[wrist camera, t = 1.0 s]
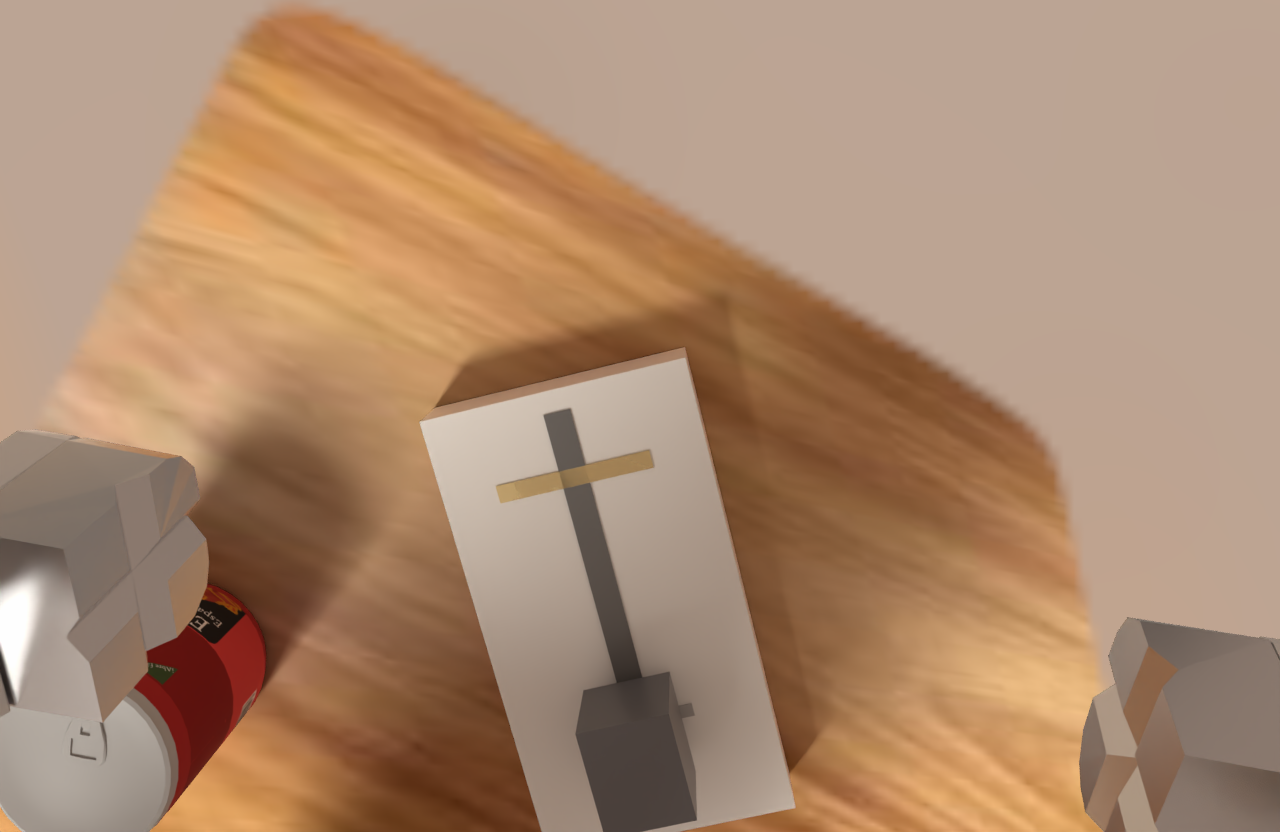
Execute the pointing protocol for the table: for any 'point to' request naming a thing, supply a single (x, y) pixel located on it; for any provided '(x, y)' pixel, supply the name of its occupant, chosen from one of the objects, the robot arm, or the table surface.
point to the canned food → (136, 732)
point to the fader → (637, 755)
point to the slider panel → (608, 577)
